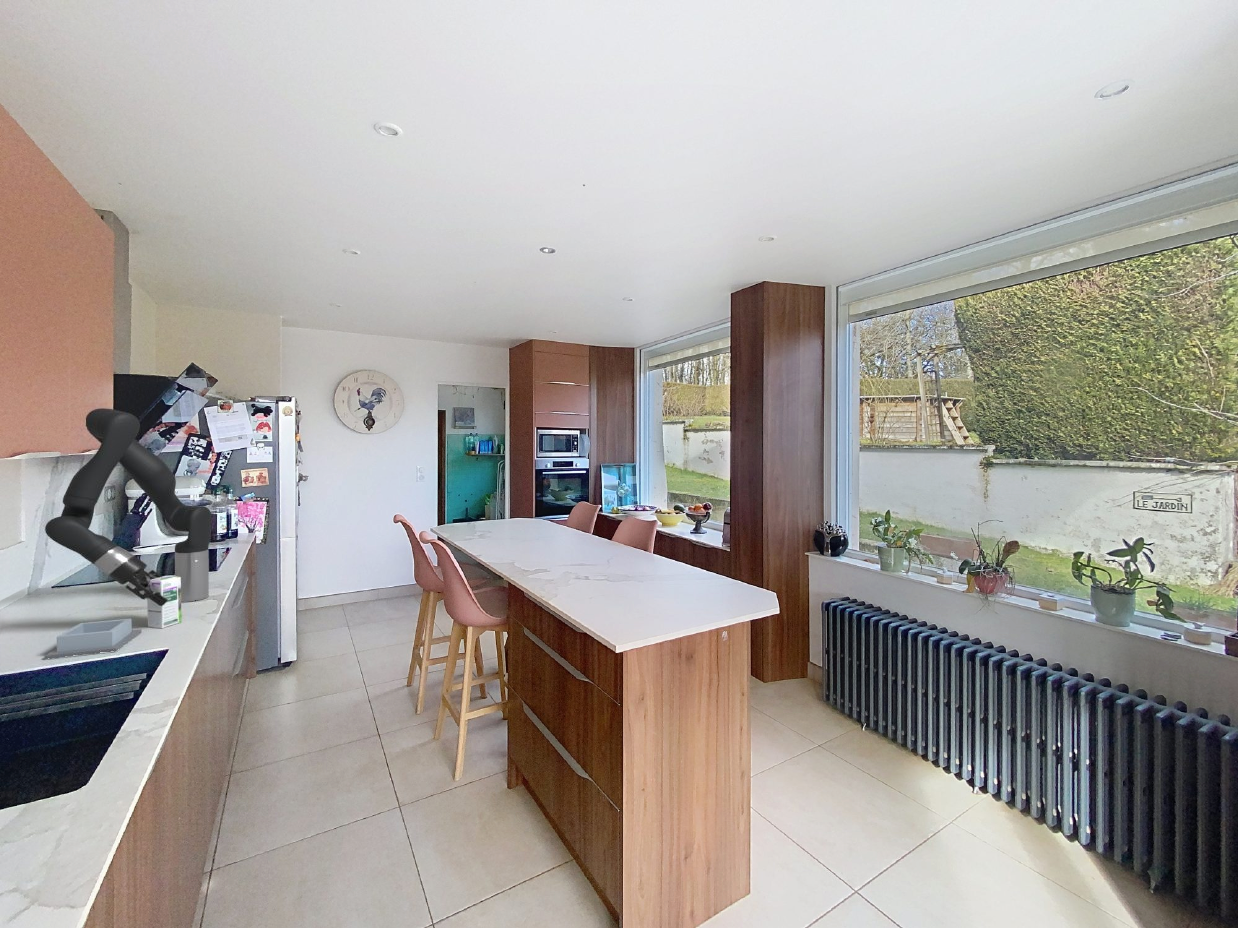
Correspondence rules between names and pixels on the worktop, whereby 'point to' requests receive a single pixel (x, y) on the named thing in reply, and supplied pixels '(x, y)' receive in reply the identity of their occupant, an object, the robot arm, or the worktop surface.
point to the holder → (94, 638)
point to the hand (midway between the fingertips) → (170, 599)
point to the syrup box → (171, 609)
